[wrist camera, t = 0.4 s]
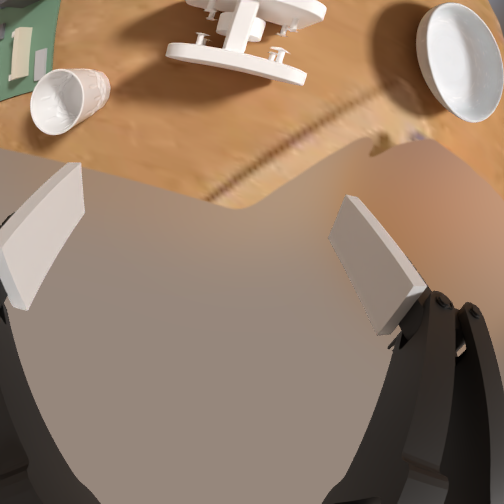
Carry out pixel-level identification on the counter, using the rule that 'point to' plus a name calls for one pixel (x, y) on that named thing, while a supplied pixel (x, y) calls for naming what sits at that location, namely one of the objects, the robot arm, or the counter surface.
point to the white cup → (67, 98)
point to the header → (21, 52)
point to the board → (41, 49)
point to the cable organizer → (250, 35)
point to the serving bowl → (460, 61)
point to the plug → (16, 3)
